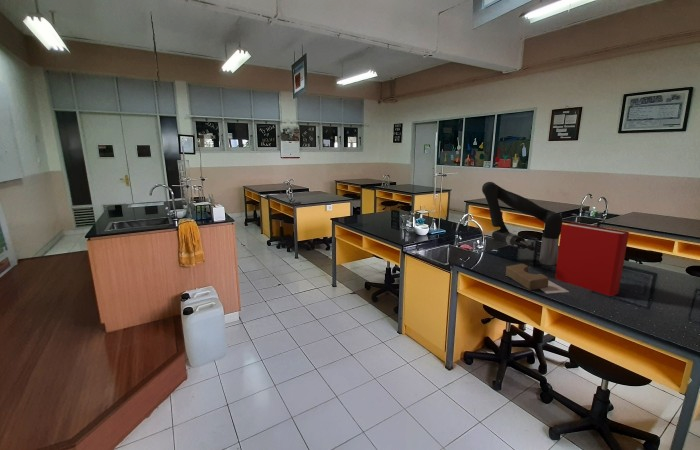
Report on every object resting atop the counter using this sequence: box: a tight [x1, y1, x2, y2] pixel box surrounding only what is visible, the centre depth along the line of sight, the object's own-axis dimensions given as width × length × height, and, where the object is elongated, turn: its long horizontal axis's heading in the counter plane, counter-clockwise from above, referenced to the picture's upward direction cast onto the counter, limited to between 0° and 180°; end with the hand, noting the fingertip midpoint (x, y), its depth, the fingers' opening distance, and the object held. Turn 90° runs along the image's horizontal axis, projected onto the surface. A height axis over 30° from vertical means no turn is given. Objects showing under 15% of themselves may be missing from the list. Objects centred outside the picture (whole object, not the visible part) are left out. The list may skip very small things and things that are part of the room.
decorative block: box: [505, 263, 550, 291], centre depth 177 cm, size 11×6×20 cm
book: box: [554, 222, 630, 297], centre depth 169 cm, size 27×8×32 cm, turn 30°
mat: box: [537, 273, 570, 295], centre depth 174 cm, size 12×22×2 cm, turn 6°
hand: (533, 249), depth 181 cm, fingers closed
